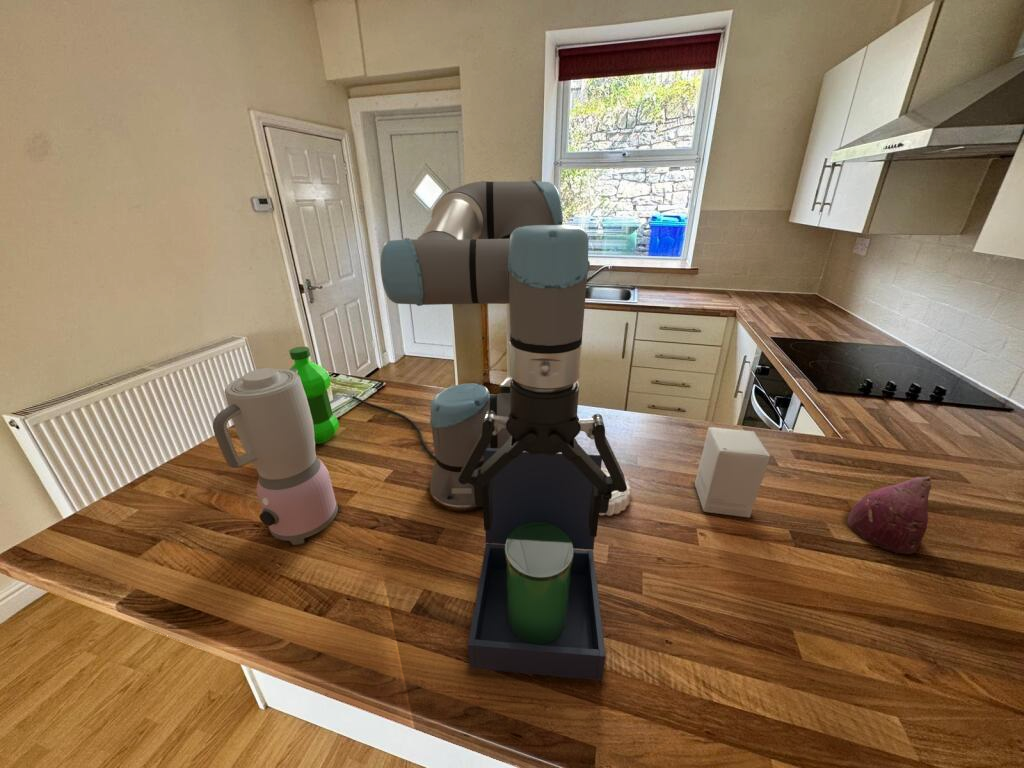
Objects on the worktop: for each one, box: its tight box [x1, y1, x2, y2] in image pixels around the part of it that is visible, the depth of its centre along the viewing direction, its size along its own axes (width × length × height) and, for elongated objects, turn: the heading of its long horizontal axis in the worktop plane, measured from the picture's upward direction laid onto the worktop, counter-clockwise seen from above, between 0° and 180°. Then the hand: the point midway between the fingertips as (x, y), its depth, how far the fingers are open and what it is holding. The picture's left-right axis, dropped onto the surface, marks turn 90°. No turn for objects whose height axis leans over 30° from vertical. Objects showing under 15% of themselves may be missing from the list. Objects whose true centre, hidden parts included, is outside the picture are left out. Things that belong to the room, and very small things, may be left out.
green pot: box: [504, 522, 574, 644], centre depth 58 cm, size 9×9×14 cm
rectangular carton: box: [694, 426, 771, 518], centre depth 80 cm, size 9×9×15 cm
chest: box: [467, 543, 607, 681], centre depth 60 cm, size 17×18×6 cm
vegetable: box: [847, 476, 932, 555], centre depth 73 cm, size 10×10×15 cm
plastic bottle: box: [288, 345, 340, 445], centre depth 100 cm, size 10×10×25 cm
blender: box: [212, 367, 339, 546], centre depth 71 cm, size 16×12×32 cm
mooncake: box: [599, 467, 632, 517], centre depth 84 cm, size 12×12×4 cm
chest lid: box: [483, 448, 603, 551], centre depth 63 cm, size 18×18×1 cm
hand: (539, 525), depth 53 cm, fingers open, 13 cm apart
